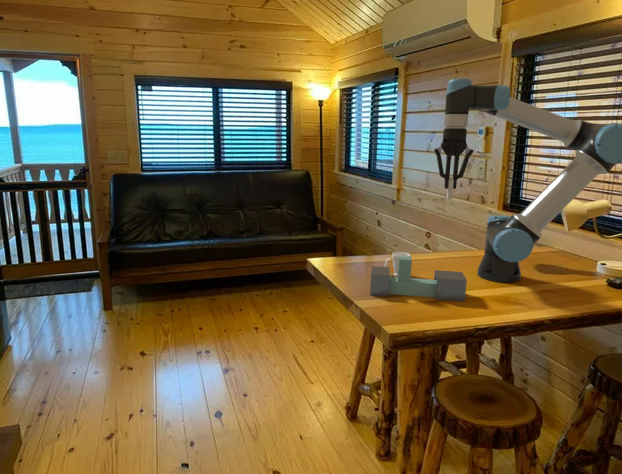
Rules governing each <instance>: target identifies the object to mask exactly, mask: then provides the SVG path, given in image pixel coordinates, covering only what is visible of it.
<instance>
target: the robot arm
mask: <svg viewBox="0 0 622 474" xmlns="http://www.w3.org/2000/svg"><path fill="white" fill-rule="evenodd" d="M445 94H446V95H445V106H444V107H445V109H444V123H443V127H445V128H443V133H442V141H441V143H440V146H438V147H436V148H433V153H434V154H435V156H436V161H437V166H438V167H437V168H438V172H439V176H440V177H441V178H443V179H444V189H446V199H447V200H448V199H449V200H452V199H453V195H454V194H453V192H454V190H456V189H457V183H458V180H459V179H462V178H464V174H465V172H466V170H467V166H468V163H469V159H470V157H471V156H472V154H473V153H474V149H471V148H470V147H468V144H467V132H468V129H467V127H468V124H469V112H470V111H469V110H471V111H472V110H476V111H478V112H480V113H485V114H489V115H490V116H494V117H497V118H499V119H501V120H505V121H507V122H510V123H512V124H514V125H518V126H520V127H523V128H526V129H528V130H531V131H533V132H535V133H538V134H541V135H544V136H546V137H549V138H552V139H554V140H556V141H559V142H561V143H563V146H564V147H566V148H568V149H571V150H573V151H575V152H574V153H575V157H574V159H572V160H571V161H570V162H569V164H568V165H567V166H565V168H564V169H563V170H562V171H560V173H558V175H557V176H556V177H555V178H554V179H553V180H552V181H551V182H550V183H549V184H548V185H547V186H546V187H545V188H544V189H543V190H542V191H541V192H540V193H539V194H538V195H537V196H536V197H535V198H534V199H533V200H532V201H531V202H530V203H529V204H528V206H526V207H525V208H524V209H523V211H521V212H520V213H515V214H514V213H513V214H512V215H511V216H509V215H489V217H488V219H487V223H486V225H487V226H486V227H487V228H486V234H485V246H484V252H483V253H484V254H483V257H482V259H481V261H480V263H479V265H478V267H477V275H478V276H479V277H480V278H483V279H485V280H489V281H491V282H498V283H515V282H516V283H517V282H519V281H520V280H521V278H522V277H521V276H522V272H521V266H520V263H519V262H522V261H524V260H526V259H527V258H528V257H530V255H531V254H532V252H533V248H534V245H535V244H537V242H538V241H540V239H541V238H542V230H543V229H544V228H545V227H547V225H549V223H551V222H552V221H553V220H554V219H555V218H556V217H557V216H558V215H559V214H560V213H561V212H562V211H563V210H564V209H565V208H566V207H567V206H568V205H569V204H570V203H571V202H572V201H573V200H574V199H575V198H576V197H577V196H578V195H579V194H580V193H581V192H582V191H583V190H584V189H585V188H586V187H587V186H588V185H589V184H591V182H592V181H593V180H594V179H595V178H597V176H599V175H607V174H608V173H609V172H610V171H611V170H612V169H613V168H614V167H615V166H616V165H617V164H620V163H622V123H618V122H611V123H595V122H594V123H592V122H588V121H584V120H581V119H578V120H572V119H570V118H567V117H565V116H562V115H560V114H557V113H553V112H551V111H548V110H545V109H543V108H540V107H538V106H534V105H533V104H530V103H527V102H524V101H522V100H519V99H516V98H514V97H511V89H510V86H508V85H501V84H497V85H473V84H472V80H471V79H470V78H453V79H450V80H449V81H448V82H447V87H446V93H445ZM442 151H443V153H444V154H445V156H446V161H445V163H446V164H445V170H444V167H443V160H442V155H441V154H442ZM463 153H465V155H464V157H463V160H462V163H461V167H460V168H459V163H460V156H462V154H463ZM452 157H453V169H452V171H453V172H452V178H450V174H451V163H452ZM444 171H445V173H444Z"/></svg>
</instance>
